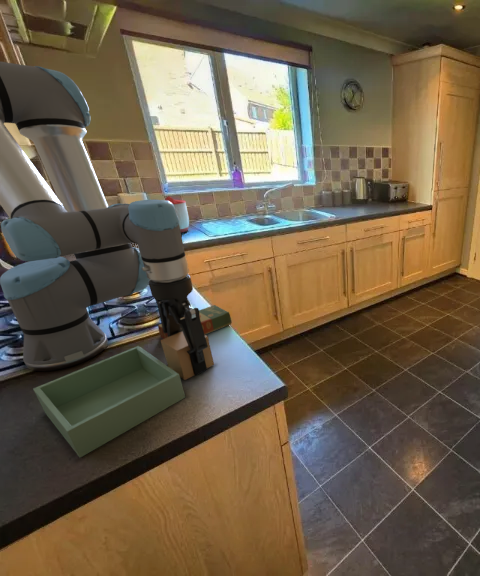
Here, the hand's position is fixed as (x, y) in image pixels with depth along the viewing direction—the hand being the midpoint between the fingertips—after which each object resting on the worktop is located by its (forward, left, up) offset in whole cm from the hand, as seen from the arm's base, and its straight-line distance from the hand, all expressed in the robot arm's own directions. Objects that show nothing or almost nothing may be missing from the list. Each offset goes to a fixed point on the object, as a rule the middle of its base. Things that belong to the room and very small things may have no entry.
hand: (191, 365), depth 78 cm
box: (0, 0, 0) cm, 0 cm away
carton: (-15, +10, -1) cm, 18 cm away
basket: (0, -15, 0) cm, 15 cm away
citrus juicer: (-131, +63, -1) cm, 145 cm away
